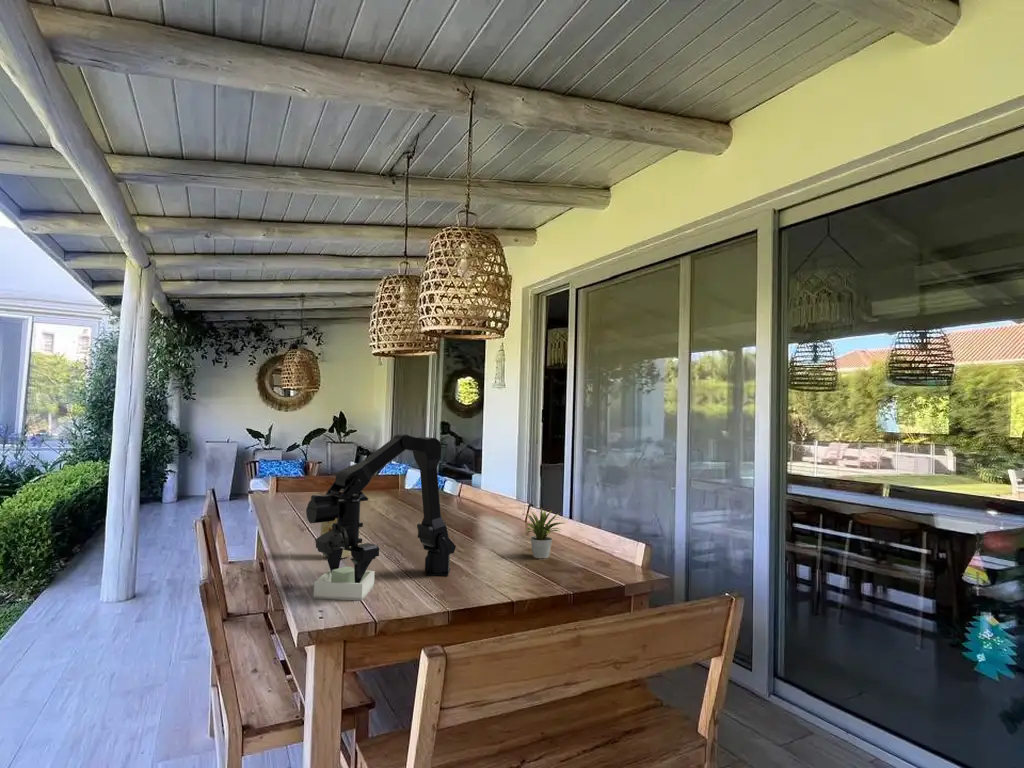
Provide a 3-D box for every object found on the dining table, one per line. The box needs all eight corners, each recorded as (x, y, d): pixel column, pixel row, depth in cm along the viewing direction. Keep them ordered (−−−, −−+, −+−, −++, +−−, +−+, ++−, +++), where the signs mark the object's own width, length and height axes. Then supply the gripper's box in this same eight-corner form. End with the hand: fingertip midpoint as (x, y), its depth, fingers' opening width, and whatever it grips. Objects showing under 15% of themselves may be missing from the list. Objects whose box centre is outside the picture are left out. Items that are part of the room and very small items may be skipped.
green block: (346, 585, 157) (347, 566, 157) (359, 589, 154) (360, 569, 154) (330, 589, 153) (331, 570, 153) (343, 593, 150) (344, 573, 150)
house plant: (537, 566, 186) (538, 513, 186) (508, 556, 196) (510, 506, 197) (569, 560, 195) (571, 509, 195) (541, 551, 205) (542, 503, 206)
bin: (373, 586, 159) (374, 570, 160) (361, 600, 147) (362, 584, 148) (329, 584, 160) (330, 569, 160) (313, 598, 148) (314, 582, 148)
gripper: (299, 518, 153) (296, 579, 153) (346, 529, 142) (343, 595, 142) (335, 512, 162) (332, 570, 162) (381, 522, 151) (379, 585, 151)
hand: (345, 580), depth 154 cm, fingers open, 9 cm apart
